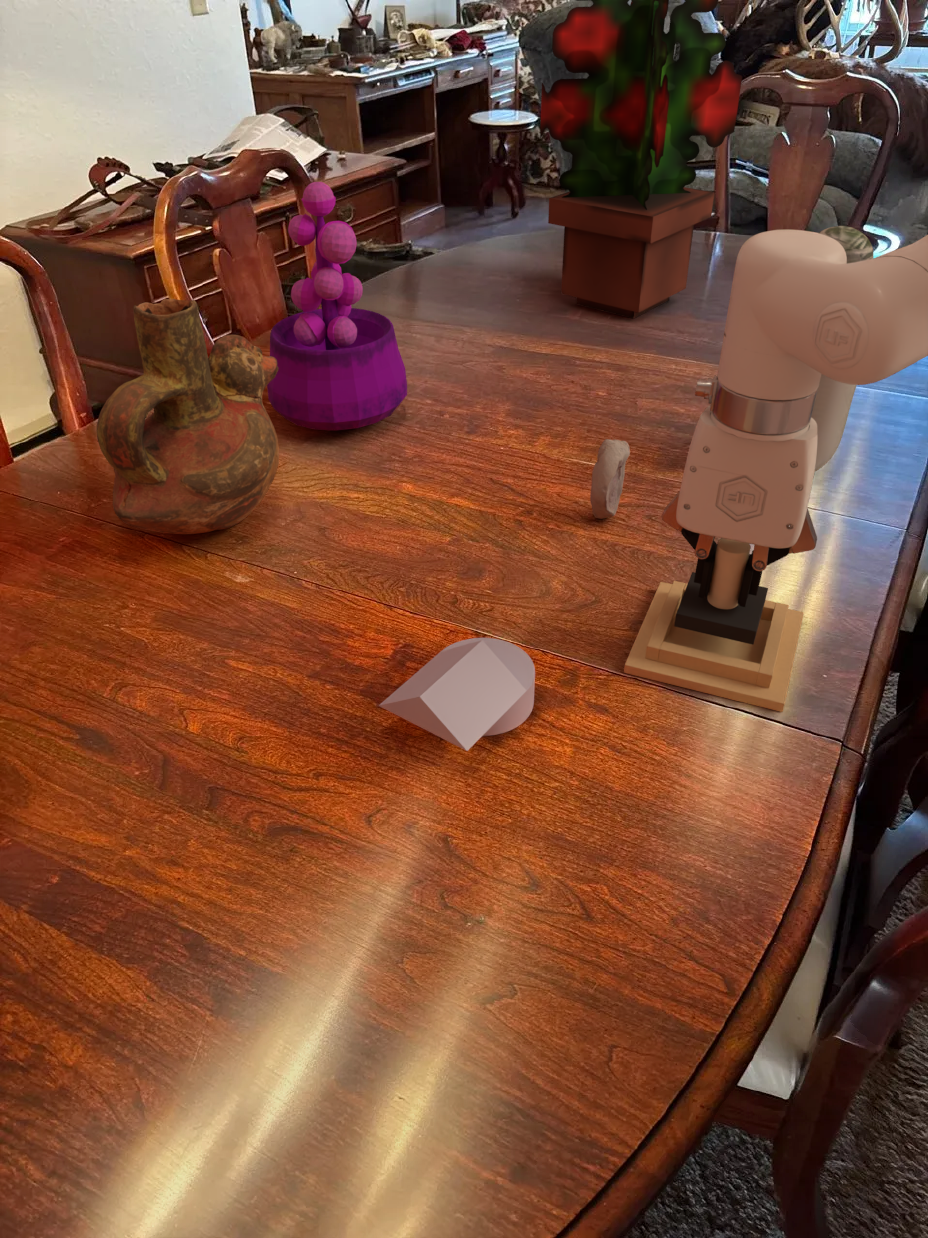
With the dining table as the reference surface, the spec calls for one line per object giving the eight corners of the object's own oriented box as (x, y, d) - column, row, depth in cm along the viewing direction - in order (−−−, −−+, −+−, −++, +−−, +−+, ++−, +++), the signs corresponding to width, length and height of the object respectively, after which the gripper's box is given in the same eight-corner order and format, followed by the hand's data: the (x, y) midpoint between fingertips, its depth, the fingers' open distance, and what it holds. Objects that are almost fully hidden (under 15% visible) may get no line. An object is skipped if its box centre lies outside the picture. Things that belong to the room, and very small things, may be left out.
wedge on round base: (467, 780, 73) (553, 691, 82) (466, 719, 69) (556, 631, 78) (381, 734, 78) (470, 654, 86) (375, 674, 74) (469, 595, 82)
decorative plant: (433, 403, 130) (424, 172, 112) (363, 459, 117) (340, 208, 99) (322, 380, 137) (297, 159, 119) (244, 431, 124) (202, 191, 106)
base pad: (801, 620, 89) (807, 599, 88) (782, 712, 79) (788, 690, 78) (659, 589, 94) (662, 568, 92) (623, 672, 84) (625, 651, 82)
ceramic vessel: (341, 481, 113) (319, 272, 97) (198, 591, 95) (143, 356, 79) (232, 452, 119) (195, 251, 104) (78, 550, 101) (6, 325, 86)
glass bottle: (837, 491, 109) (903, 244, 92) (748, 484, 110) (796, 240, 93) (828, 453, 116) (887, 218, 99) (745, 446, 118) (789, 215, 101)
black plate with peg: (765, 600, 86) (781, 532, 81) (753, 645, 81) (769, 574, 76) (690, 584, 88) (701, 517, 83) (674, 626, 83) (685, 557, 78)
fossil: (606, 535, 102) (614, 454, 96) (578, 527, 103) (583, 446, 97) (627, 512, 106) (636, 432, 100) (600, 504, 107) (606, 425, 101)
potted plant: (534, 305, 161) (544, -4, 134) (604, 274, 175) (626, -13, 147) (644, 333, 150) (679, 2, 123) (709, 298, 163) (754, -9, 136)
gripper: (648, 406, 71) (625, 596, 83) (870, 441, 66) (813, 639, 78) (669, 370, 77) (645, 553, 88) (876, 400, 72) (822, 591, 83)
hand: (724, 592), depth 83 cm, fingers closed on black plate with peg, 2 cm apart
